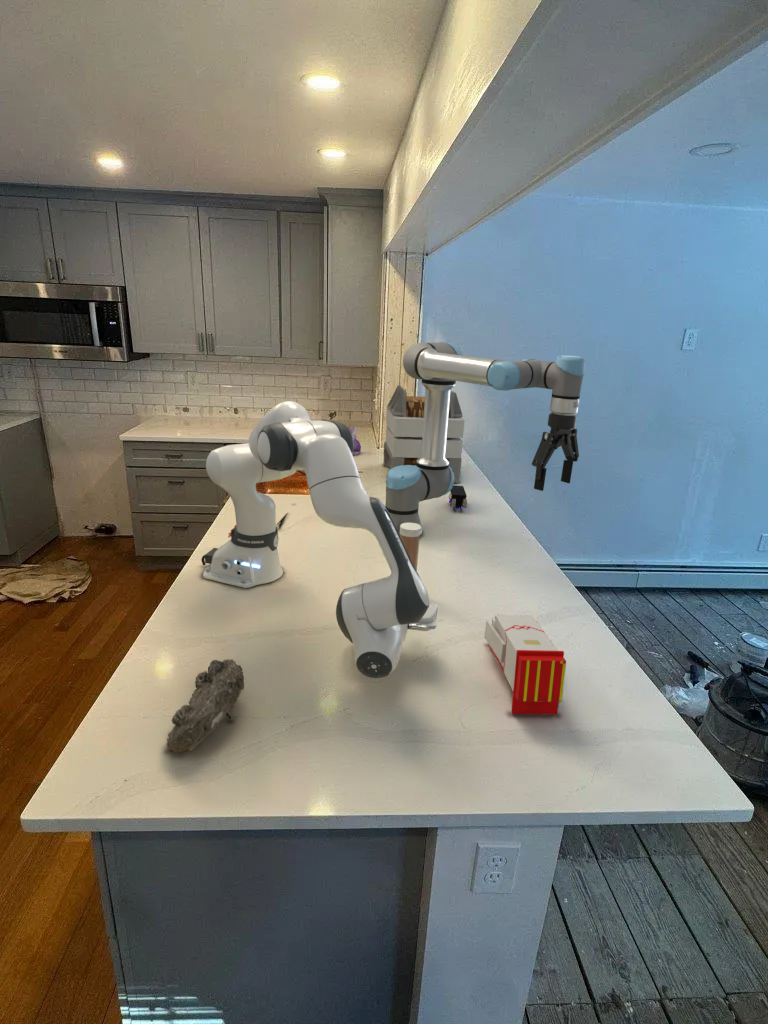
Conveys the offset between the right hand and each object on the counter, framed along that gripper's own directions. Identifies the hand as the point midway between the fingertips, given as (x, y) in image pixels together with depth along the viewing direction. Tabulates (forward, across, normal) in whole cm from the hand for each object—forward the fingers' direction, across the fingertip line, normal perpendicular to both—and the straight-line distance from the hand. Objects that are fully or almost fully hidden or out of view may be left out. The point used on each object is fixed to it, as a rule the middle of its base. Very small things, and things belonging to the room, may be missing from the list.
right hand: (552, 485), depth 166 cm
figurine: (+28, +42, +148) cm, 156 cm away
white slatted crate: (+28, +46, +101) cm, 115 cm away
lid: (+8, -42, +15) cm, 45 cm away
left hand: (+18, -58, +1) cm, 61 cm away
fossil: (+28, -107, 0) cm, 110 cm away
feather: (+28, -38, +85) cm, 98 cm away
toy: (+28, -48, -28) cm, 62 cm away
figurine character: (+28, +24, +56) cm, 67 cm away
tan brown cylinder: (+28, -42, +15) cm, 53 cm away
